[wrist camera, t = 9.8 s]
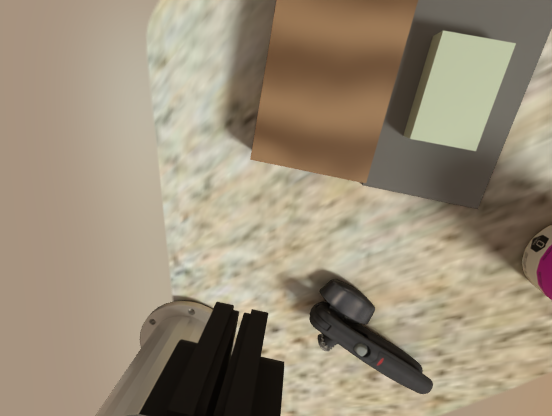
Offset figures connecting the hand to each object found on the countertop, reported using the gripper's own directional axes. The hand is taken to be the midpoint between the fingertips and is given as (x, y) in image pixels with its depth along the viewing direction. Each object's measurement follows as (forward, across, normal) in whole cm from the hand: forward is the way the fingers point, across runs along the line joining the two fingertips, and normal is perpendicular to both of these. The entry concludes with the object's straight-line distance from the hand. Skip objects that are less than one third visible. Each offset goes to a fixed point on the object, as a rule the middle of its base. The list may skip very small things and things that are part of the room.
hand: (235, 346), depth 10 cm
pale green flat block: (+24, -14, -12) cm, 30 cm away
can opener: (+27, -14, +16) cm, 34 cm away
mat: (+26, -14, -11) cm, 31 cm away
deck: (+26, -2, -11) cm, 28 cm away
